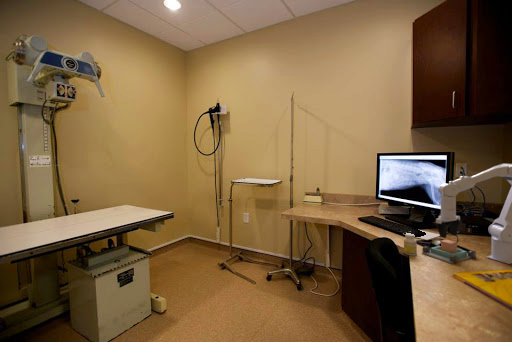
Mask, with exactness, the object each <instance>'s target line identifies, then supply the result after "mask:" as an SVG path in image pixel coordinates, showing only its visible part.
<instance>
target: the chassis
mask: <svg viewBox="0 0 512 342" xmlns="http://www.w3.org/2000/svg"><path fill="white" fill-rule="evenodd" d="M421 254H423V255H425V256H428V257H431V258H433V259H436V260H439V261H442V262H445V263H448V264H450V265H452V264H458V262H459V263H460V262H463V261H467V260H470V259H476V257H477V253H476V251H474V250H468V251H467V250H463V249H460V248H457V253H454V254H451V253H448V252H445V251H441V246H440V245H437V246H434V247H433V246H432V247H429V246H426V245H424V246H423V247H422V252H421Z"/></svg>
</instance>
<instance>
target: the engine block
mask: <svg viewBox="0 0 512 342" xmlns="http://www.w3.org/2000/svg"><path fill="white" fill-rule="evenodd" d="M440 243H441V251H445V252H448V253H451V254H454V253H457V249H458V242H457V241H453V240H449V239H443V240H440ZM440 243H439V244H440Z"/></svg>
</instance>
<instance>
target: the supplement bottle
mask: <svg viewBox="0 0 512 342" xmlns="http://www.w3.org/2000/svg"><path fill="white" fill-rule="evenodd" d="M405 233H406V234H404V235H405V236H404V238H403V253H404V254H406V255H408V256H417V254H418V253H417V252H418V249H417V239H416V237H415V235H414V234H411V233H407V232H405Z"/></svg>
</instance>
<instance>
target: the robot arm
mask: <svg viewBox="0 0 512 342" xmlns="http://www.w3.org/2000/svg"><path fill="white" fill-rule="evenodd" d="M495 177H501V178H503V179H505V180H506V181H507V182H508V183H509V184H510V185H511V187H510V189H509V192H508V194H507V197H506V200H505V201H504V205H503V207H502V209H501V212H500V215H499V217H497V218H496V219H494V220H493V222H492V224H490V225H489V226H488V231H487V232H488V233H489V234H490V235H491V254H490V255H488V256H486V258H487V259H491V260H494V261H497V262H501V263H504V264H508V265H509V264H510V265H511V264H512V163H505V162H504V163H500V164H498V165H494V166H492V167H490V168H487V169H486V170H483V171H481V172H479V173H477V174H475V175H472V176H468V175H461V176H459V178H458V179H454V180H450V181H448V183H446V182H445V183H442V184H440V186H439V188H438V189H437V191H438V193H439V194H440V215H438V216H437V217H438V218H435V221H434V225H435V227H436V228H437V231H438V234H440V236H439V237H441V238H443V239H446V238H447V234H448V228H449V234H450V236H455V237H456V236H457V235H458V231H459V229H460V227H461V225H462V223H463V221H462V220H461V216H460V215H457V200H456V198H457V197H456V196H457V195H459V193H461V192H464V191H466V190H469V189H471V188H474V187H475V185H476V184H477V183H480V182H483V181H486V180H489V179H492V178H495Z"/></svg>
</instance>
